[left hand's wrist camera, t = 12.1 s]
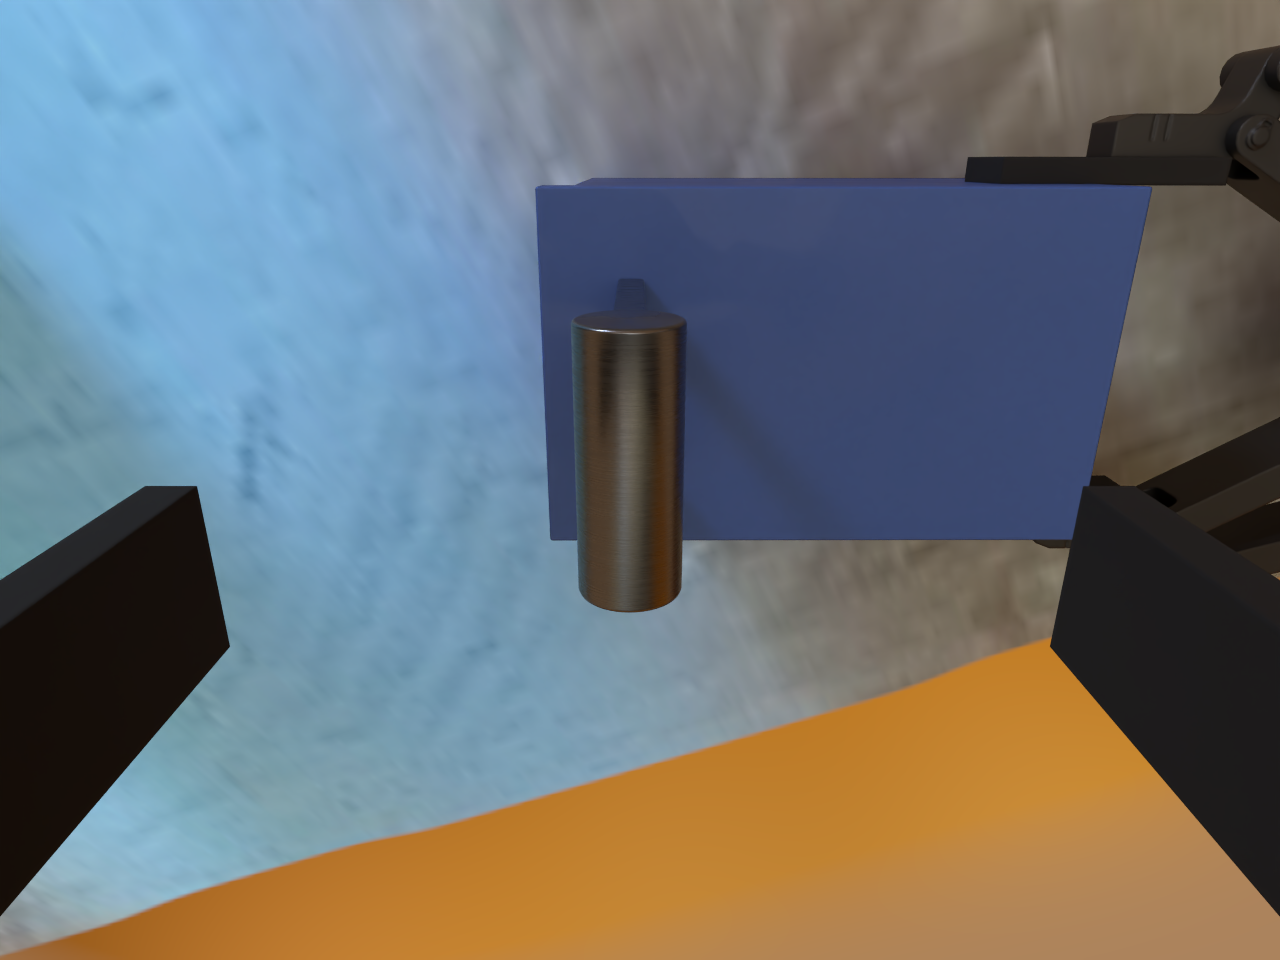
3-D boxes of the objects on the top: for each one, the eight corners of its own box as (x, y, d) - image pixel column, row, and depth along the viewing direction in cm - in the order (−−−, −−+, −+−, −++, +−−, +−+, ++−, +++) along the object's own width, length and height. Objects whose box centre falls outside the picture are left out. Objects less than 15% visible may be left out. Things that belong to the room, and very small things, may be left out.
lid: (554, 524, 26) (513, 703, 17) (540, 185, 22) (479, 200, 14) (1058, 523, 26) (1267, 702, 17) (1126, 185, 22) (1431, 200, 14)
